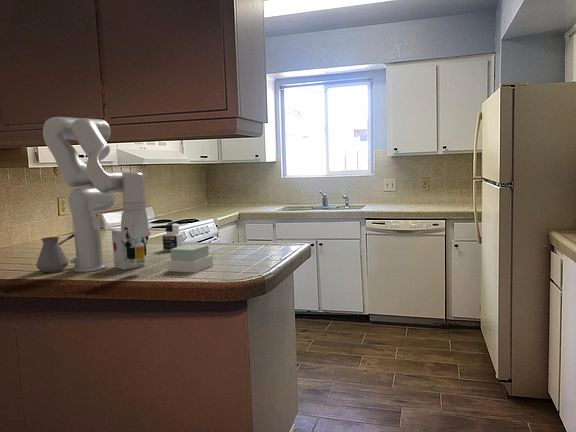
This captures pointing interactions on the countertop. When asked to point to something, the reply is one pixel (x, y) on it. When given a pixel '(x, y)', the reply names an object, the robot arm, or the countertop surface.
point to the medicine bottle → (172, 237)
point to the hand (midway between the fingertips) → (136, 256)
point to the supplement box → (121, 252)
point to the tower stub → (190, 258)
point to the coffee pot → (52, 255)
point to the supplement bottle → (138, 253)
